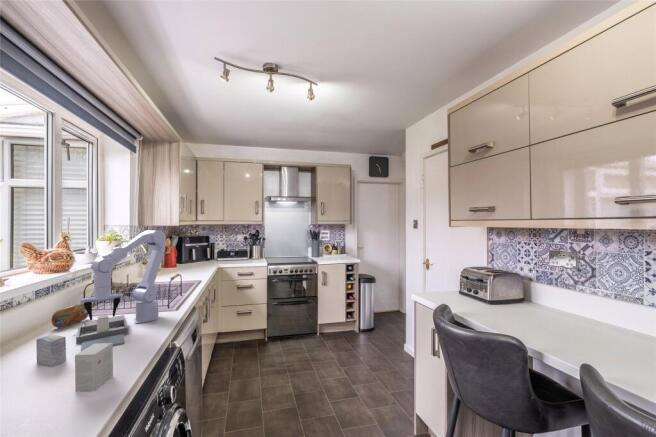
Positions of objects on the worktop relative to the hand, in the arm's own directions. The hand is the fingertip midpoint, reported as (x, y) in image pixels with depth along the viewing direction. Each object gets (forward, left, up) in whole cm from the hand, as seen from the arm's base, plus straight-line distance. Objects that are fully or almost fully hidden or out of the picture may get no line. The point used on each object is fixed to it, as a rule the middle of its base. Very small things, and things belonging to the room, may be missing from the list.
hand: (102, 317), depth 126 cm
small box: (+2, +48, -7) cm, 49 cm away
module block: (0, 0, -7) cm, 7 cm away
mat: (0, +13, -7) cm, 15 cm away
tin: (+12, -24, -7) cm, 28 cm away
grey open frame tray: (0, -7, -7) cm, 9 cm away
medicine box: (+14, +22, -7) cm, 27 cm away
